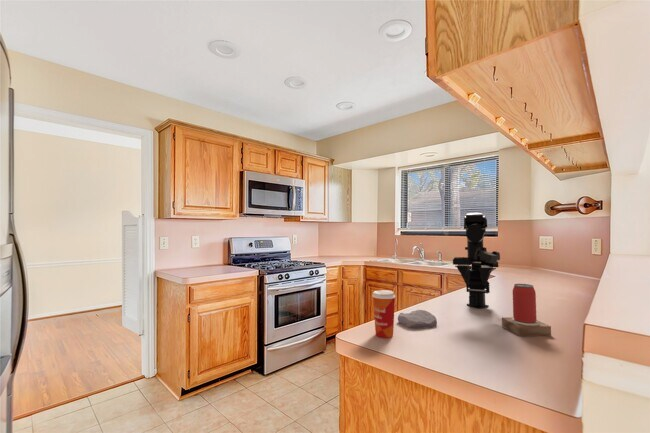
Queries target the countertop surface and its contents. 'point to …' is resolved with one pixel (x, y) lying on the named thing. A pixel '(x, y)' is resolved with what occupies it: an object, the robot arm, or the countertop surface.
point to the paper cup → (384, 313)
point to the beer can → (524, 303)
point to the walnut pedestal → (526, 327)
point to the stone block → (417, 319)
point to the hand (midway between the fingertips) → (476, 285)
